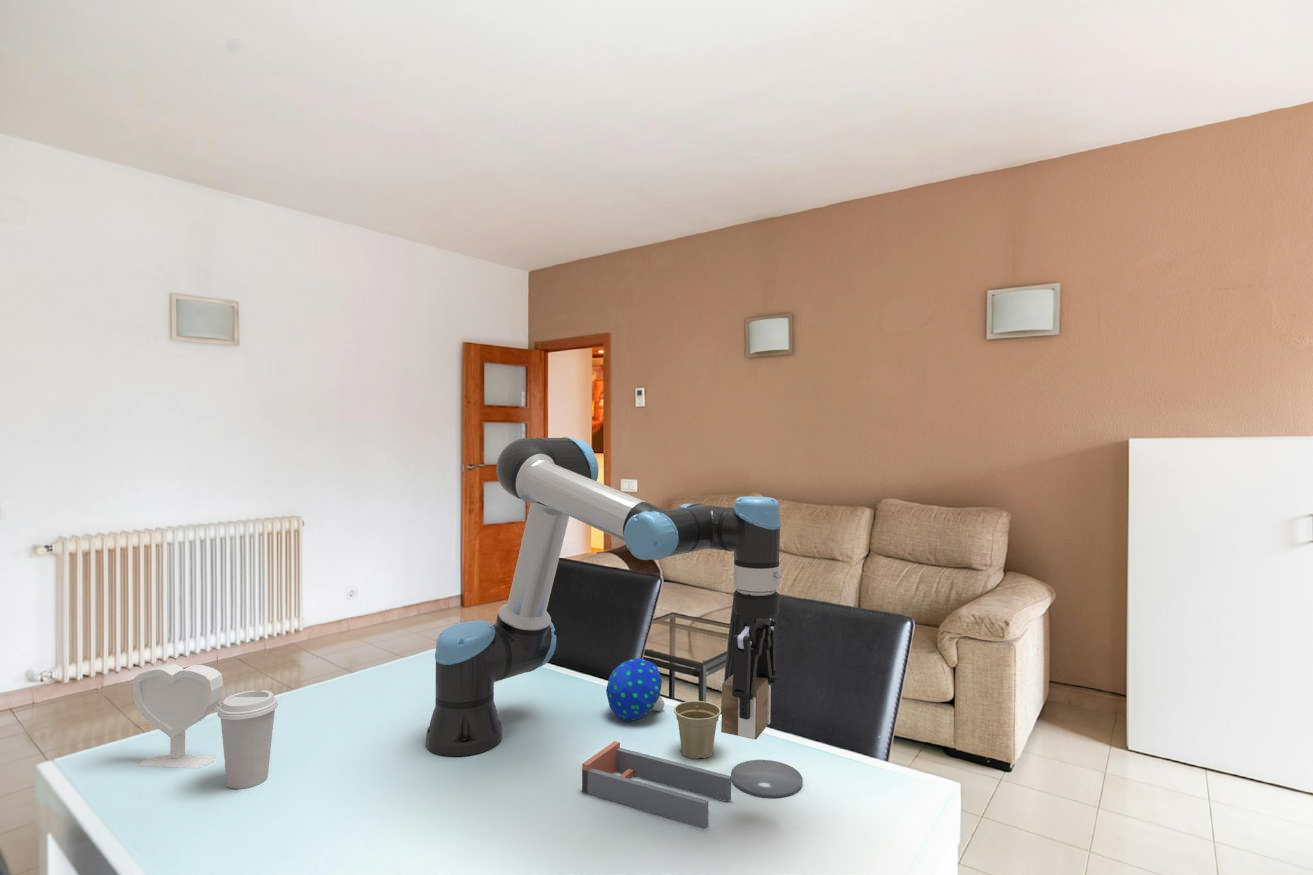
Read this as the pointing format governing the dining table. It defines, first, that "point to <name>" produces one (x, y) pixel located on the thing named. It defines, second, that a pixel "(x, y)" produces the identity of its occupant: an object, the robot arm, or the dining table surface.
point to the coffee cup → (247, 736)
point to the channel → (652, 797)
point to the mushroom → (634, 689)
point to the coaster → (766, 778)
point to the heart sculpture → (177, 707)
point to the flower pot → (697, 727)
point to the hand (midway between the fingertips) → (754, 728)
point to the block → (731, 707)
